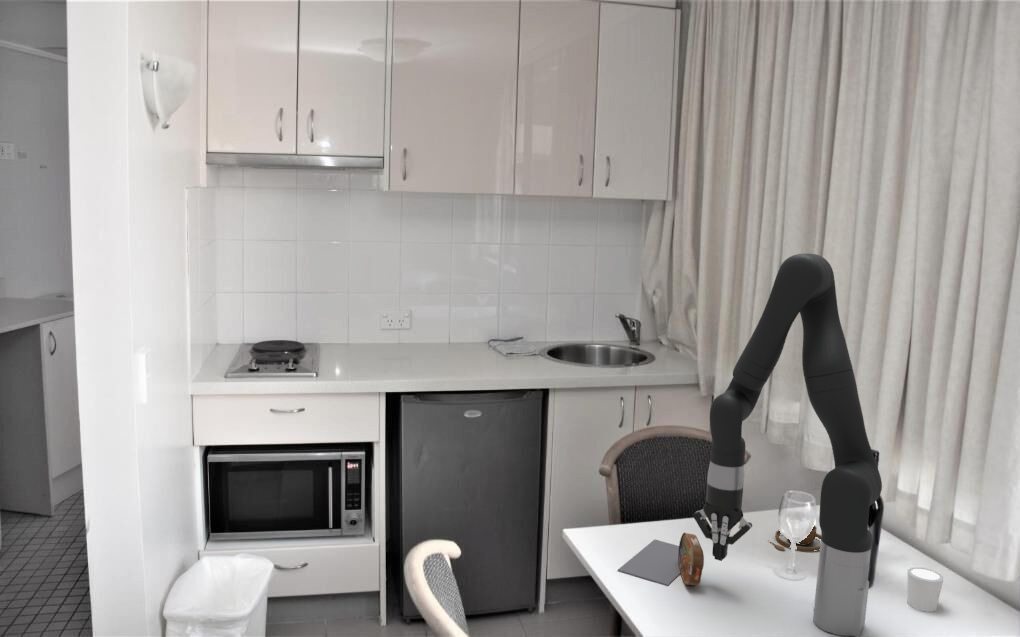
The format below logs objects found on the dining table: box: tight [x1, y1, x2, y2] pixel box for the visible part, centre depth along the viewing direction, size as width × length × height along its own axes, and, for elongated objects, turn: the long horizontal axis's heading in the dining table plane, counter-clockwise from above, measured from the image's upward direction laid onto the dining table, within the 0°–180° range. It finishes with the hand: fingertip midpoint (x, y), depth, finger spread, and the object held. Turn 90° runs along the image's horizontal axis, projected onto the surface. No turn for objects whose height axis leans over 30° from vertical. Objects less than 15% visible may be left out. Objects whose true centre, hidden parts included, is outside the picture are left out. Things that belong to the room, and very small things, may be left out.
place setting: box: [770, 524, 821, 552], centre depth 202 cm, size 18×20×6 cm
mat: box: [617, 539, 681, 587], centre depth 192 cm, size 12×21×1 cm, turn 147°
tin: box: [678, 532, 705, 586], centre depth 184 cm, size 15×3×8 cm, turn 178°
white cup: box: [906, 566, 944, 613], centre depth 176 cm, size 7×7×7 cm
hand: (719, 558), depth 181 cm, fingers closed
